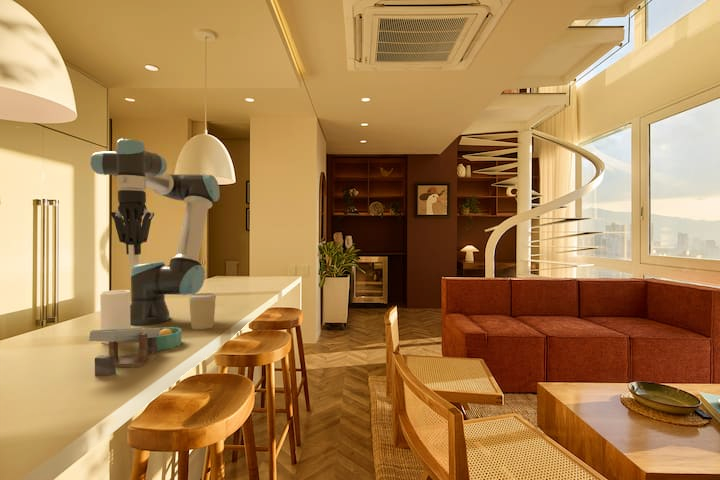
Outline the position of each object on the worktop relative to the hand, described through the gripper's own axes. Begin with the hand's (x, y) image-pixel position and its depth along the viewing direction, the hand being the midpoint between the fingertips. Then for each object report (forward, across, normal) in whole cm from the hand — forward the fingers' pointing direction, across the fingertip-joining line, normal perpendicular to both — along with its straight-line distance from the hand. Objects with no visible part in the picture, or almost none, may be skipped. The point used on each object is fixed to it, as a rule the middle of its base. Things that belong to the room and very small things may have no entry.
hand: (134, 264), depth 118 cm
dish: (+25, +9, -1) cm, 27 cm away
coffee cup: (+26, +11, +22) cm, 36 cm away
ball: (+23, +9, +1) cm, 25 cm away
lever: (+19, +6, -17) cm, 26 cm away
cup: (+26, -9, +3) cm, 27 cm away
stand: (+25, +9, -16) cm, 31 cm away
